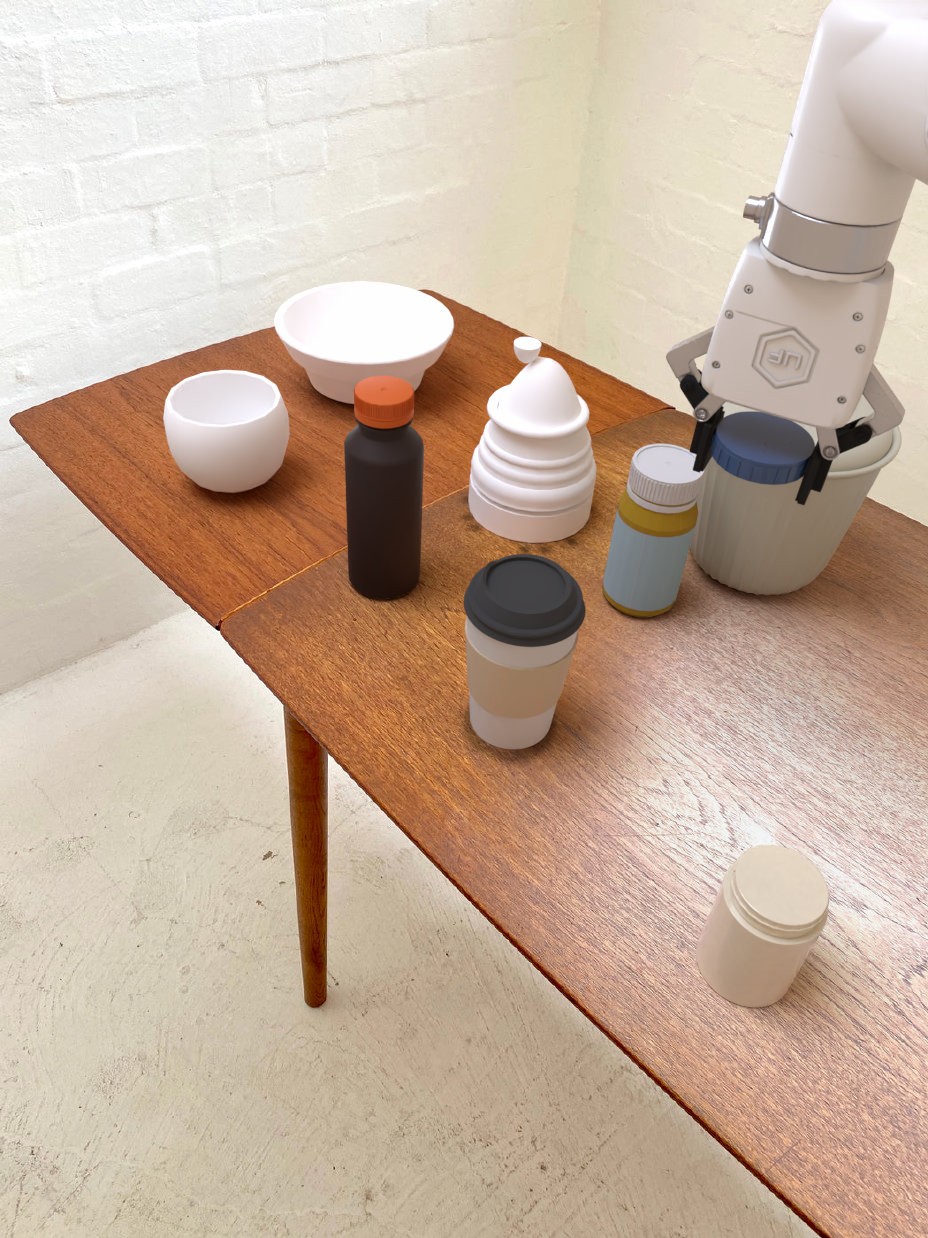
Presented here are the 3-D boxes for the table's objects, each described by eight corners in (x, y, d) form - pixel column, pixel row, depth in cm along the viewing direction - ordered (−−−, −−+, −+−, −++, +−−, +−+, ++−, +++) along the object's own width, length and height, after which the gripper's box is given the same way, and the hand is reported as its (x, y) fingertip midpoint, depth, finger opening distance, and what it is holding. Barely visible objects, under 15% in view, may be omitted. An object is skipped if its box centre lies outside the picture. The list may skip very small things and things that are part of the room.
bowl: (350, 447, 109) (348, 381, 104) (245, 373, 120) (238, 309, 115) (486, 389, 120) (491, 327, 115) (379, 326, 131) (378, 266, 126)
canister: (826, 645, 89) (909, 448, 75) (637, 584, 94) (680, 388, 80) (855, 538, 102) (931, 351, 87) (686, 489, 107) (732, 305, 92)
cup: (312, 492, 103) (307, 410, 96) (199, 525, 97) (186, 442, 91) (264, 435, 110) (256, 356, 104) (157, 464, 105) (142, 383, 98)
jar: (801, 944, 67) (844, 865, 61) (779, 1025, 63) (824, 949, 56) (710, 904, 69) (743, 823, 62) (683, 980, 65) (716, 902, 58)
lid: (731, 420, 73) (736, 400, 72) (821, 452, 71) (829, 432, 70) (694, 462, 69) (699, 441, 68) (789, 497, 66) (796, 476, 65)
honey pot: (452, 526, 100) (461, 365, 87) (487, 460, 109) (499, 306, 97) (575, 554, 97) (602, 392, 85) (601, 485, 106) (628, 330, 94)
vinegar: (388, 611, 90) (388, 420, 76) (333, 580, 92) (324, 390, 79) (434, 575, 94) (442, 388, 80) (380, 546, 97) (379, 361, 83)
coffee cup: (574, 691, 83) (599, 554, 73) (552, 772, 77) (577, 632, 67) (472, 667, 85) (483, 529, 75) (442, 744, 78) (450, 604, 68)
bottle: (594, 610, 91) (620, 476, 81) (608, 566, 96) (634, 434, 86) (669, 628, 90) (705, 494, 80) (679, 582, 95) (714, 450, 85)
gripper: (671, 220, 59) (622, 467, 71) (971, 291, 54) (863, 545, 66) (707, 184, 64) (656, 421, 76) (985, 246, 59) (882, 489, 71)
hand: (753, 477), depth 71 cm, fingers closed on lid, 6 cm apart
